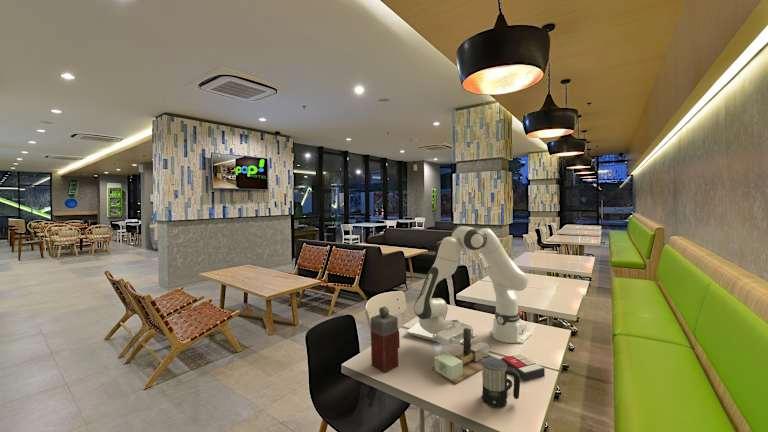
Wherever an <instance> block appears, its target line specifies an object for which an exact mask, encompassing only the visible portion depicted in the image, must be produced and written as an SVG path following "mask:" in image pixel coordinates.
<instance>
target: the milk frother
mask: <svg viewBox="0 0 768 432" xmlns="http://www.w3.org/2000/svg"><path fill="white" fill-rule="evenodd" d="M481 364H482V370H481V372H482V390H481V391H482V394H481V400H482V402H483V403H484V404H486V405H487V406H488V407H491V408H498V409H499V408H503V407H505V406H506V405H507V404H508V401H507V400H508V391H509V390H511V389H512V388H513V392H512V393H513V394H512V395H513V398H514V400H518V399H519V398H520V388H521V387H520V386H521V379H520V376H519V373H518V372H517V371H516V370H515V369H513V368H510V367H507V364H506V363H505V362H504V361H503V360H501V358H497V357H495V358H485V359H483V360H482V361H481ZM508 376H512V377H513V381H512V380H511V379H510V378H508Z"/></svg>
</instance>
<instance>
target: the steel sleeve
mask: <svg viewBox="0 0 768 432" xmlns="http://www.w3.org/2000/svg"><path fill="white" fill-rule="evenodd" d="M489 348H490V345H489V344H487V343H485V342H482V341H478V342H477V343H473V344H471V351H473V352H475V359H473V360H471V361H473V362H475V363H478V362H480V361H481V360H480V359H482V358H483V357H484V358H488V357H490V356H491V355H490V349H489Z"/></svg>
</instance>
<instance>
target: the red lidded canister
mask: <svg viewBox="0 0 768 432" xmlns="http://www.w3.org/2000/svg"><path fill="white" fill-rule="evenodd" d="M389 310H390V309H389V308H388V307H387V306H385V305H384V306H381V307H379V309H378V311H379V314H377V315H374V316H372V317H371V318H370V345H371V346H370V347H371V348H370V349H371V351H370V352H371V354H370V356H371V367H372V366H373V368H374V369H376V370H377V369H378V370H377V371H379V370H380V371H379V372H381V373H382V372H383V374H387V373H388V372H390V371H392V370H394V369H396V368H398V367H399V349H400V347H401V346H400V343H401V342H400V330H399V325H398V324H399V323H398V321H399V319H398V317H397V316H395V315H392V314H391V313H389V312H390V311H389Z"/></svg>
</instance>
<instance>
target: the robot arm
mask: <svg viewBox="0 0 768 432" xmlns="http://www.w3.org/2000/svg"><path fill="white" fill-rule="evenodd" d="M464 249H467V250H470V251H478V250H479V251H480V253H481V255H482V256H483V258H484V260H485V262H486V264H487V265H488V266H489V268H488V271H487V275H488V278H489V279H490V281H491V283H492V286H493V290H494V295H495V310H494V311H495V312H494V318H493V323H492V329H491V330H490V332H491V333H492V337H493V338H494V339H495V340H496V341H499V342H502V343H507V344H513V343H514V344H524V343H525V342H526V341H527V340H528V339H529V338H530V337H531V336H532V331H529V330H528V324H527V323H526V322H525V321H523V320H522V319H521V317H520V316H522V315H523V312H522V311H520V310H518V309H519V300H518V297H517V295H516V293H515V292H516V291H518V292H522V291H523V290H524V291H525V289H527V287H528V284H529V277H528V275H527V274H526V273H525V272H523V271H522V270H521V269H520V268H519V267H518V265H516V264H515V263H516V262H515V261H513V260H512V259H511V257H510V256H509V254H508V253H507V252H506V250H505V248H504V246H503V245H502V243H501V241H500V239H499V238H498V237H497V235H496V234H495V233H494V232H493V230H492V229H490V228H489V227H487V228H486V227H483V228H481V229H477V228H474V227H471V226H465V225H459V226H458V225H457V226H456V227H454V228H453V229H452V231H451V232H450V234H449V236H446V237H444V238H443V239H442V240H441V241H440V245H439V247H438V251H437V255H436V259H435V261H434V263H433V264H432V266H431V268H430V269H429V270H428V271H427V273H426V276H425V279H424V282H423V284H422V286H421V290H420V291H419V292H420V293H419V294H418V297H417V299H416V300H415V302H414V306H413V310H414V314H415V315H416V316H417V318H419V319H418V322H419V324H420V326H421V327H422V328H423V329H424V330H425V331H427V332H429V333H431V334H434V335H433V338H434V339H436V341H437V343H438V344H440V345H442V346H444V347H447V346H450V345H458V346H462V345H463V341H462V340H463V329H464V328H468V329H471V340H475V339H476V338H477V335H476V334H474V328H473V326H472V325H471V324H470V325H469V324H468V323H465V322H461V321H460V320H459V319H454V320H453V319H452V320H450V319H447V320H446V317H447V314H448V304H447V302H446V301H445V299H443V298H442V297H433V296H434V295H433V294H434V292H435V290H436V286H437V285H438V284H439V282H441V281H442V280H444V279H446V278H449V277H451V276H452V275H453V274H454V273H456V271H457V269H458V263H459V260H460V255H461V252H462V251H463V250H464ZM436 341H435V342H436Z"/></svg>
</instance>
